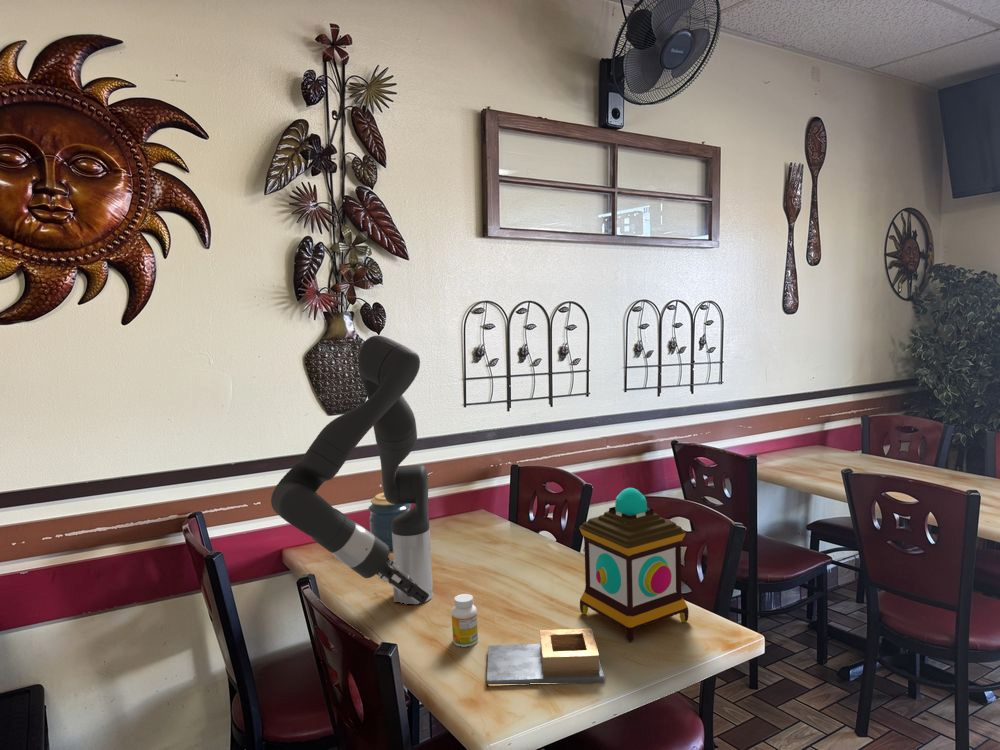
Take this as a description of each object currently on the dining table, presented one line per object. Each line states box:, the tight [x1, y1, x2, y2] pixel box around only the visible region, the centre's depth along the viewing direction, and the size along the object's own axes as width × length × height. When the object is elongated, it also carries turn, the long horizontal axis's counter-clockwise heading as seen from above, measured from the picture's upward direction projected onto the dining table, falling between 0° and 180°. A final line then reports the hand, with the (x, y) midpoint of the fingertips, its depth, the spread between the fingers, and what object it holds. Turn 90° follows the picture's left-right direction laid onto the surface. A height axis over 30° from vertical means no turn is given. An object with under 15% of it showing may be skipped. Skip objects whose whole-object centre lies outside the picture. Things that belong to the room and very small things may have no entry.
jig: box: [486, 628, 605, 685], centre depth 131 cm, size 22×13×5 cm, turn 90°
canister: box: [368, 492, 412, 552], centre depth 203 cm, size 13×13×18 cm
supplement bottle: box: [451, 593, 479, 648], centre depth 141 cm, size 5×5×10 cm
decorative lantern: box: [578, 487, 689, 643], centre depth 148 cm, size 20×20×30 cm
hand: (417, 591), depth 136 cm, fingers open, 8 cm apart
